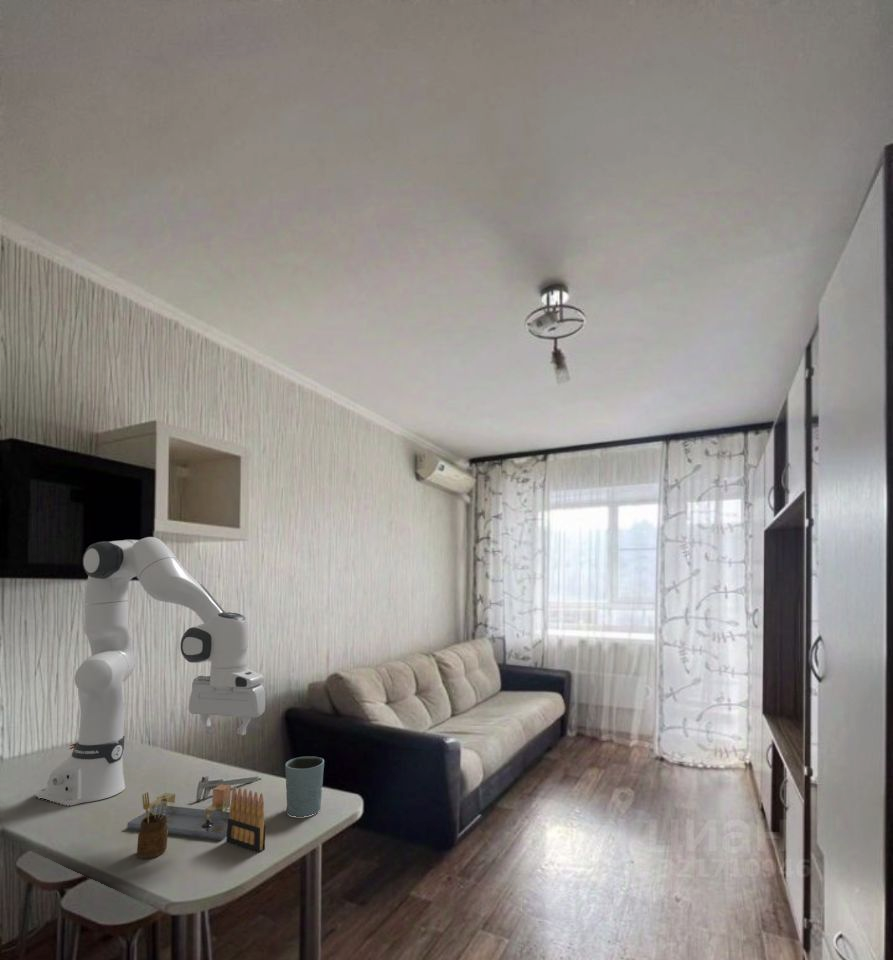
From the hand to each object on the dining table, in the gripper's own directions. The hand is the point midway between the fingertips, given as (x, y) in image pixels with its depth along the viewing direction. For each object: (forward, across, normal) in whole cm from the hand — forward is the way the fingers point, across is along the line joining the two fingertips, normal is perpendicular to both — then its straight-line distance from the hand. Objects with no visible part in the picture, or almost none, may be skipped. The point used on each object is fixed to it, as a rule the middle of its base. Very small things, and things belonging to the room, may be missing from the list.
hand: (225, 733), depth 142 cm
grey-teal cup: (+21, +17, +11) cm, 29 cm away
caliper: (+22, -10, +19) cm, 31 cm away
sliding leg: (+19, 0, -2) cm, 19 cm away
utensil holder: (+21, -6, -16) cm, 27 cm away
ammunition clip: (+21, +13, -9) cm, 26 cm away
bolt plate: (+21, -7, -3) cm, 22 cm away
